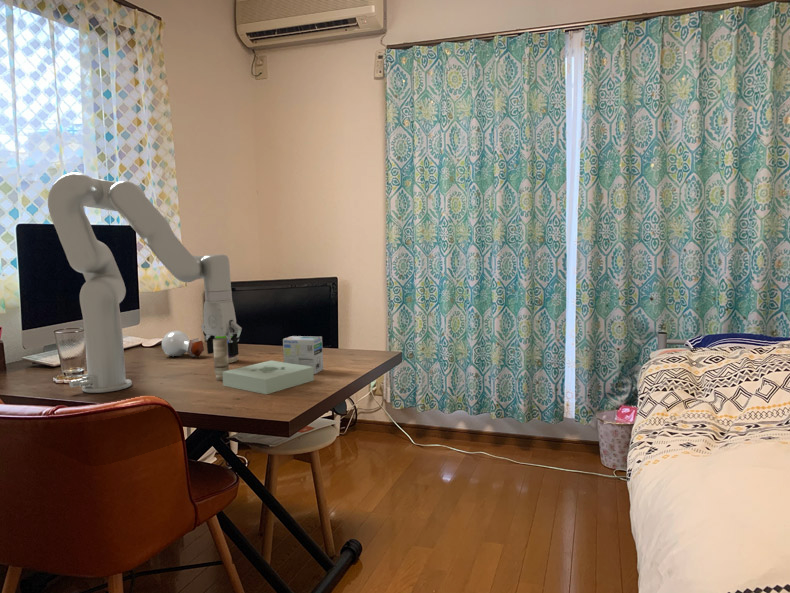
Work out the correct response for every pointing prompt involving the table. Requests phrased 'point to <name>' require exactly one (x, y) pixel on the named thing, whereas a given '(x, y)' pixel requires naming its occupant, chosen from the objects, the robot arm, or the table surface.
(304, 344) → the light bulb box
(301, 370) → the board
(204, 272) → the robot arm
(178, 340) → the potion bottle
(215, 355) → the peg
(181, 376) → the table surface
